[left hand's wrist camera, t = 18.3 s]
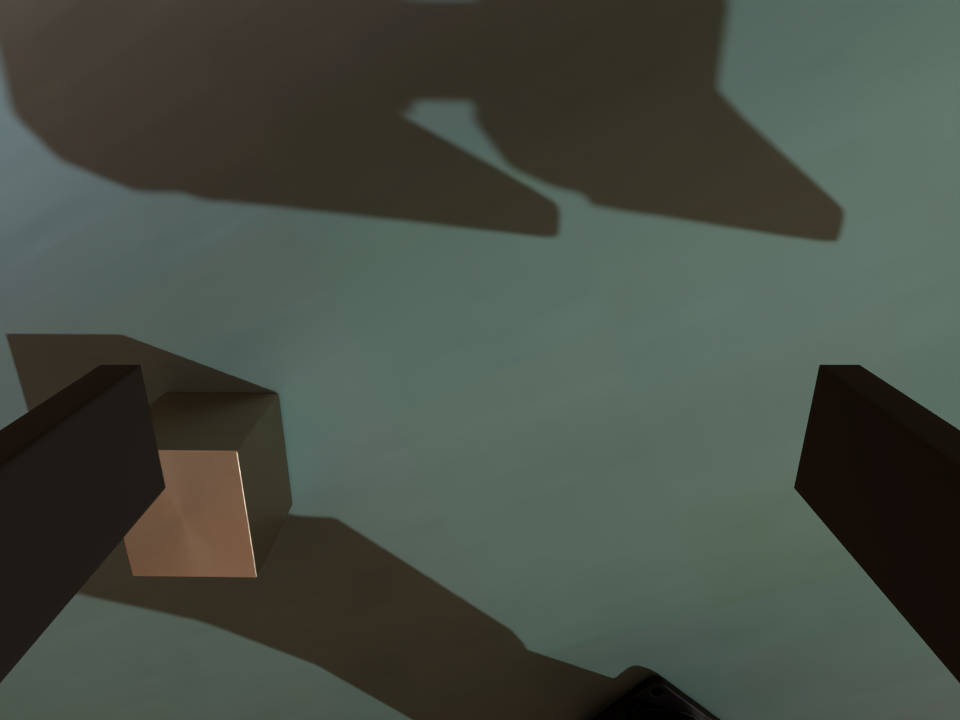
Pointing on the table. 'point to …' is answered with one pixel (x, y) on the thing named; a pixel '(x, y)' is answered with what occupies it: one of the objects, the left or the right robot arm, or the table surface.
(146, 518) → the brick
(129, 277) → the table surface
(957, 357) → the table surface
